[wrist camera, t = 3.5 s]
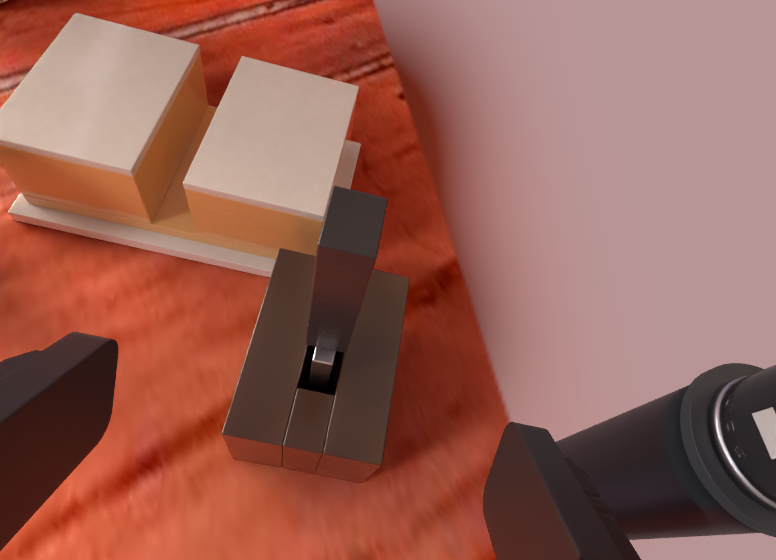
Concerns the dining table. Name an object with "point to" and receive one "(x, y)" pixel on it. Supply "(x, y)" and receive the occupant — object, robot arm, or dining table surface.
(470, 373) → the dining table surface
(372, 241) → the knife
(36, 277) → the dining table surface
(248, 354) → the knife block
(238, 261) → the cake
